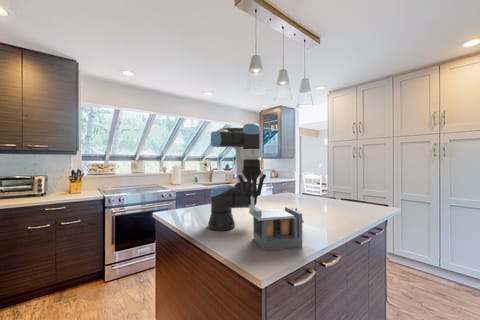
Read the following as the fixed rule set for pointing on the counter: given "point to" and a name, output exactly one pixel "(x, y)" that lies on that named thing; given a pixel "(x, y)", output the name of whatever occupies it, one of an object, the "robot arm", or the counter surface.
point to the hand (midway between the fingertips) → (251, 211)
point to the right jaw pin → (285, 227)
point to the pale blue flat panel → (270, 214)
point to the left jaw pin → (269, 228)
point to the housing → (277, 239)
